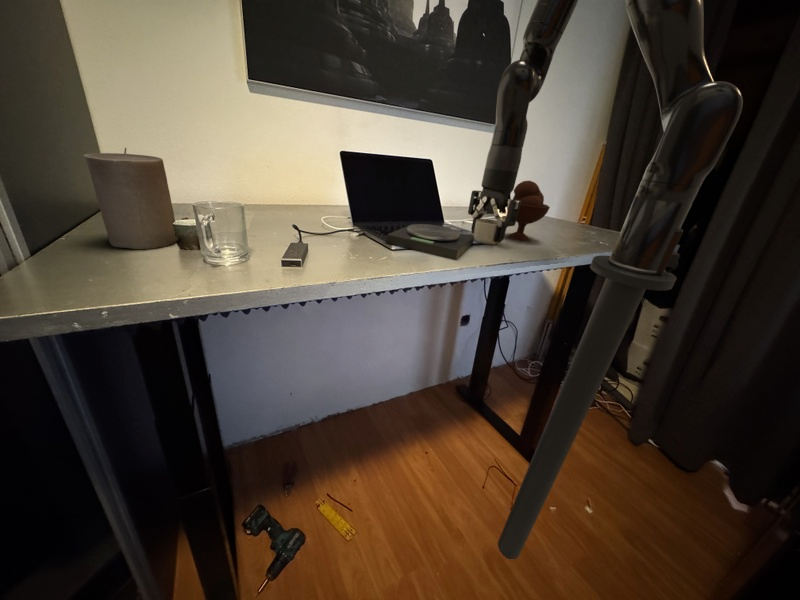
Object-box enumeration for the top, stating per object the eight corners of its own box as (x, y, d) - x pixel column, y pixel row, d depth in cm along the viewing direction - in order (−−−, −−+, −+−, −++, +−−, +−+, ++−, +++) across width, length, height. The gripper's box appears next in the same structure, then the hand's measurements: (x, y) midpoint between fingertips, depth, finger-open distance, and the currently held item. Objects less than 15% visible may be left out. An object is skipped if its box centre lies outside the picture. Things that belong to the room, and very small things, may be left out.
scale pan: (465, 233, 77) (465, 231, 77) (450, 244, 67) (451, 241, 67) (418, 223, 81) (419, 221, 81) (398, 232, 71) (398, 230, 71)
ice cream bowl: (536, 246, 83) (554, 185, 76) (493, 237, 88) (507, 178, 81) (542, 239, 91) (558, 183, 85) (503, 231, 96) (516, 177, 90)
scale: (472, 244, 79) (474, 234, 78) (455, 259, 66) (458, 248, 65) (412, 231, 84) (413, 222, 83) (386, 243, 72) (387, 233, 71)
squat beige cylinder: (500, 241, 84) (504, 222, 82) (496, 246, 79) (500, 226, 77) (475, 236, 86) (479, 217, 84) (469, 241, 81) (474, 221, 79)
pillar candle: (170, 231, 63) (153, 147, 57) (185, 245, 57) (168, 152, 51) (105, 237, 57) (77, 142, 50) (114, 253, 51) (84, 148, 44)
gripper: (537, 172, 72) (518, 244, 79) (490, 165, 82) (476, 229, 90) (515, 171, 68) (496, 246, 75) (468, 163, 78) (456, 230, 86)
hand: (485, 237), depth 82 cm, fingers open, 7 cm apart
